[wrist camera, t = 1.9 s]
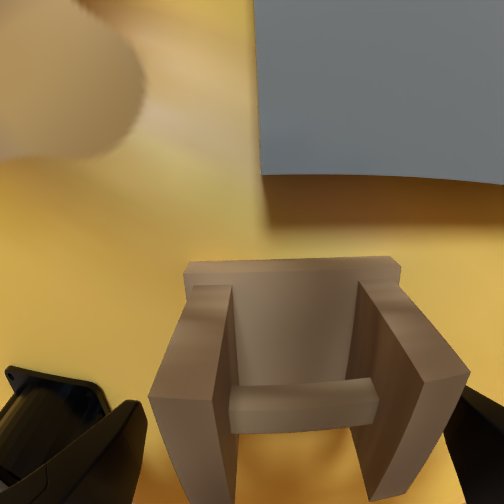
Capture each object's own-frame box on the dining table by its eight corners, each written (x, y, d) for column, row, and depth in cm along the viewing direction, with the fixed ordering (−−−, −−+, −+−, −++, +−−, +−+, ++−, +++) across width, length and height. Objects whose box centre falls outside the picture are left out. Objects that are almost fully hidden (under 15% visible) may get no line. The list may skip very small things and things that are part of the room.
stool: (208, 390, 13) (185, 514, 7) (190, 260, 11) (127, 378, 5) (367, 382, 13) (409, 496, 7) (388, 254, 11) (486, 354, 5)
